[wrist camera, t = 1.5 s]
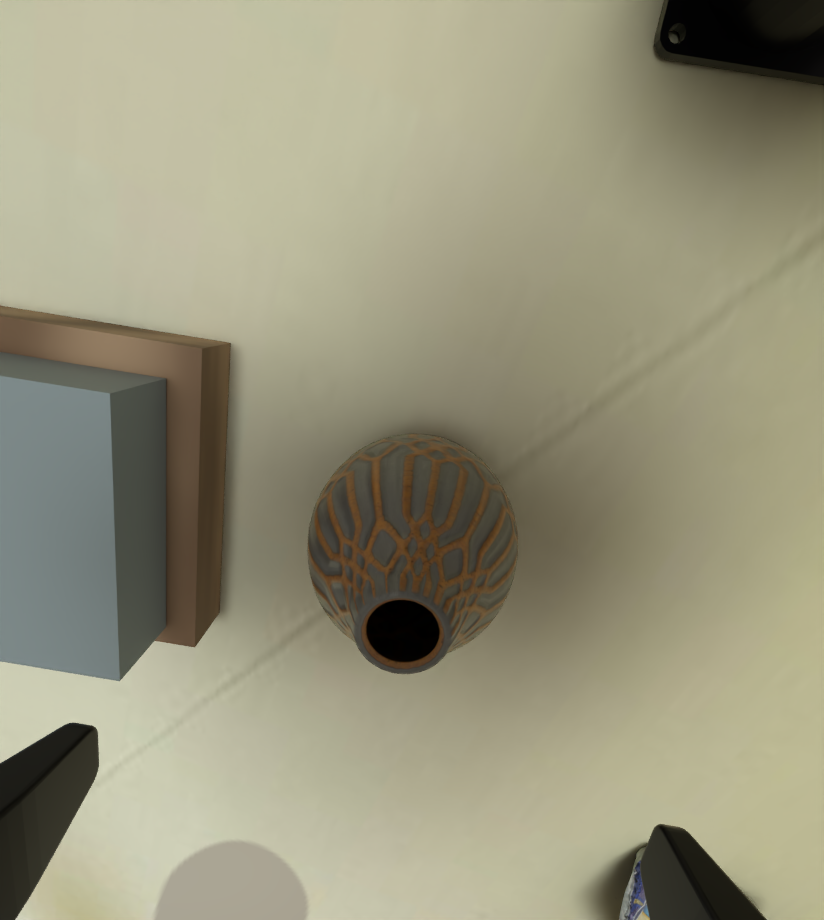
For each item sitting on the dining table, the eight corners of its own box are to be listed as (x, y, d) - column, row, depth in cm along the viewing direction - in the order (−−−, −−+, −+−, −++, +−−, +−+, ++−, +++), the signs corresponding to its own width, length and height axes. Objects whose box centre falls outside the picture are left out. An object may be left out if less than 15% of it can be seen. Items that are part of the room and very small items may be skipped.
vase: (539, 495, 20) (610, 633, 12) (422, 603, 22) (412, 789, 13) (411, 379, 19) (389, 438, 11) (300, 502, 21) (205, 637, 12)
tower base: (236, 341, 19) (202, 348, 17) (224, 604, 23) (194, 647, 20) (-67, 292, 19) (-154, 291, 17) (-31, 563, 23) (-97, 599, 20)
